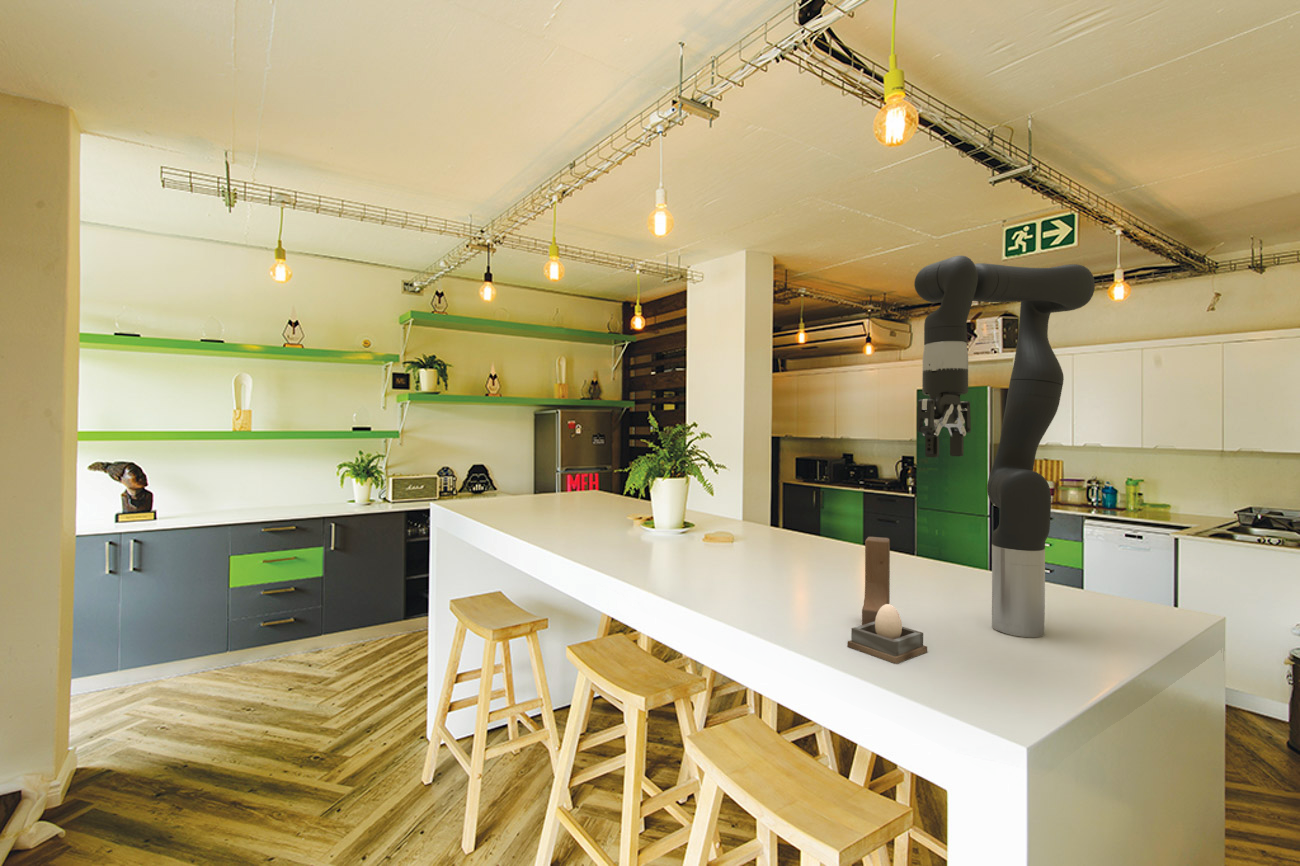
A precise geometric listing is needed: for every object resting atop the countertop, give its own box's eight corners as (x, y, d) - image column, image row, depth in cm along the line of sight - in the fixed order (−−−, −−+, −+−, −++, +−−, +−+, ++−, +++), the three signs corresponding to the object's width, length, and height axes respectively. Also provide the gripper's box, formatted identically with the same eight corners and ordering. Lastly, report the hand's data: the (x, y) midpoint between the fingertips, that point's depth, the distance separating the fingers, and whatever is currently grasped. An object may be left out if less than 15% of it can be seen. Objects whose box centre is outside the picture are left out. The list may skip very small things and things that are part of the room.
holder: (878, 636, 116) (878, 618, 116) (927, 651, 108) (927, 632, 108) (847, 646, 110) (847, 628, 110) (896, 663, 102) (896, 643, 102)
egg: (905, 644, 109) (906, 604, 109) (895, 650, 105) (895, 609, 105) (881, 637, 112) (881, 599, 112) (870, 643, 109) (870, 604, 109)
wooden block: (885, 634, 117) (885, 544, 117) (861, 630, 119) (862, 542, 119) (889, 621, 125) (889, 537, 125) (867, 618, 127) (867, 536, 127)
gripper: (945, 373, 114) (944, 455, 114) (904, 367, 106) (903, 456, 106) (985, 369, 108) (984, 456, 108) (944, 364, 100) (944, 458, 100)
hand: (944, 456), depth 107 cm, fingers open, 8 cm apart
